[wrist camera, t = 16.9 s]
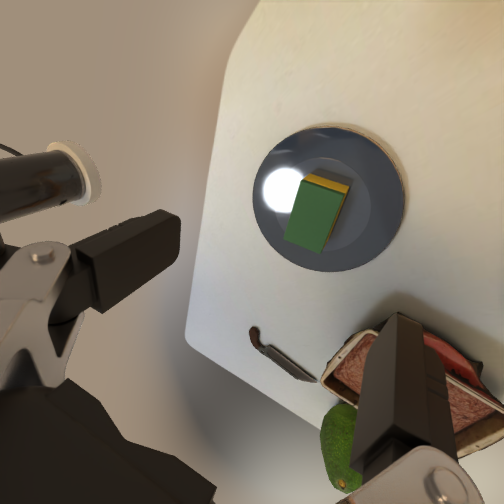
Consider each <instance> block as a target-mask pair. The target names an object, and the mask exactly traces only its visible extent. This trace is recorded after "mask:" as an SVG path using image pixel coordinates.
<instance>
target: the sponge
mask: <svg viewBox="0 0 504 504" xmlns="http://www.w3.org/2000/svg"><path fill="white" fill-rule="evenodd" d="M348 189H349V186H346V185H343V184H340V183H337V182H334V181H331V180H328V179H325V178H322V177H319V176H316V175H313V174H309V175H307V176H306V177H305V178H303V179H302V180H301V181H300V184H299V187H298V190H297V194H296V197H295V200H294V204H293V207H292V211H291V214H290V217H289V221H288V224H287V227H286V231H285V234H284V238H283V239H284V240H286V241H289V242H291V243H294V244H296V245H299V246H301V247H303V248H306V249H308V250H311V251H313V252H316V253H318V254H321V252H322V250H323V249H324V247H325V245H326V243H327V241H328V239H329V236H330V234H331V231H332V229H333V226H334V224H335V221H336V219H337V216H338V214H339V212H340V209H341V207H342V204H343V202H344V199H345V197H346V194H347V192H348Z"/></svg>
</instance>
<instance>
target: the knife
mask: <svg viewBox="0 0 504 504" xmlns="http://www.w3.org/2000/svg"><path fill="white" fill-rule="evenodd" d="M249 336H250V340H251V343H252V344H253V346H254V347H255V348H256V349H257V350H259V352H261V353H262V354H263V355H265V356H266V357H268V358H270V359H271V360H272V361H273V362H275V363H276V364H277V365H279V366H280V367H281V368H282V369H284V370H285V371H286V372H288V373H289V374H290V375H291V376H293V377H294V378H295V379H297V380H298V379H299V380H302V381H307V382H311V383H317V382H316V381H315V380H314V379H312V378H311V377H310V376H308V375H307V374H306V373H305V372H303V371H302V370H301V369H299V368H298V367H297V366H295V365H294V364H293V363H292V362H290V361H289V360H288V359H286V358H285V357H284V356H282V355H281V354H280V353H279V352H277V351H276V350H275V349H273V348H272V347H271V346H269V345H267V346H266V347H262V346H261V344H260V343H259V341H258V337H259V331H258V330H257V329H256V328H254V327H252V328H251V329H250V330H249ZM262 350H263V351H264V352H263V351H262Z"/></svg>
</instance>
